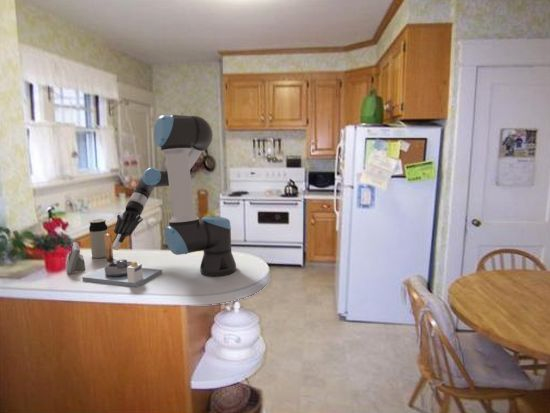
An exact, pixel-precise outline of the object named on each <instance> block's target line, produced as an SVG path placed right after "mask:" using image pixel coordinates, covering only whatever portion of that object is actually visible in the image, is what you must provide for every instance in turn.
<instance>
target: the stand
mask: <svg viewBox="0 0 550 413" xmlns="http://www.w3.org/2000/svg"><path fill="white" fill-rule="evenodd" d="M131 262H132V263H131V266H129V267H127V275H126V276H121V277H109V276H106V275H105V267H103V268H100V269H98V270H96V271H93V272H91V273H89V274H87V275H84V276H82V281H83V282H88V283H89V282H90V283H92V282H93V283H98V284H99V283H101V284H108V285H118V286H125V287H134V288H138V287H140V286H142V285H143V284H145V283H147V282H148V281H150V280H153V279H155V277H158V276H159V275H161V274H162V272H163V270H162V269H160V268H159V269H157V268H156V269H155V268H147V267H143V264H142V263H138V262H137V261H131Z"/></svg>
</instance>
